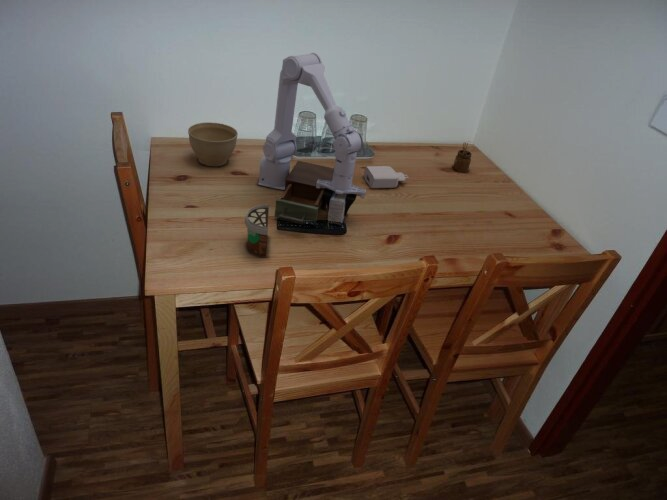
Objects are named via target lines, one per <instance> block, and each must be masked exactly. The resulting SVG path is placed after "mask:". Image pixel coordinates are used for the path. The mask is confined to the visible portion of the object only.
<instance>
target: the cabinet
mask: <svg viewBox="0 0 667 500" xmlns="http://www.w3.org/2000/svg"><path fill="white" fill-rule="evenodd" d="M333 173H334V167H329V166H325V165H321V164H316V163H310V162H305V161H302V160H297V162H296V163H295V165H294V166H293V168H292V169H291V170H290V171H289V175H288V177H287V178H286V181H285V190H286V188H287V187H288V185H289V184H290V183H293V184H298V185H303V186H307V187H312V188H316V185H317V181H318V179H319V180H328V181H332V180H333ZM316 189H321V190H324V188H316ZM285 190H284V191H285ZM320 210H322V211H327V203H326V200H325V197H324V202H323V205H322V207H321V209H320Z"/></svg>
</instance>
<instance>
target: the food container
mask: <svg viewBox="0 0 667 500" xmlns="http://www.w3.org/2000/svg"><path fill="white" fill-rule="evenodd" d="M269 213H270V204H259V205H255V206H253V207H251V208H250V209H249V210H248V211H247V213H246V214H245V217H244V225H245V227H246V228H247V229H246V230H247V231H246V232H247V247H248V250H249V251H250V253H252V254H253V255H255V256H258V257H263V258H267V250H268V237H269V236H268V235H269V234H268V233H269V216H270V215H269Z"/></svg>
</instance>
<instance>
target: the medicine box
mask: <svg viewBox="0 0 667 500" xmlns="http://www.w3.org/2000/svg"><path fill="white" fill-rule="evenodd" d="M347 196H348V194H347V193H343V194H337V193H335V191H334V193H333V195H332V197H331V199H330V204H329V212H328V211H327V220H328V221H336V222H341V223H342V224H343V222H344V220H345V217H346V216H344V212H345V208H346V200H347Z"/></svg>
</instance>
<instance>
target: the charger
mask: <svg viewBox="0 0 667 500" xmlns="http://www.w3.org/2000/svg"><path fill="white" fill-rule="evenodd" d="M363 178H364V180H365V182H366V184H367V185H368V186H369V188H370V189H396V188H397V187H398V184H399V182H406V180H407V179H410V176H408V174H404V173H403V172H399V171H398V172H396V171H395V170H394V168H393V167H391V166H389V165H378V166H377V165H366V166H364V171H363Z"/></svg>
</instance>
